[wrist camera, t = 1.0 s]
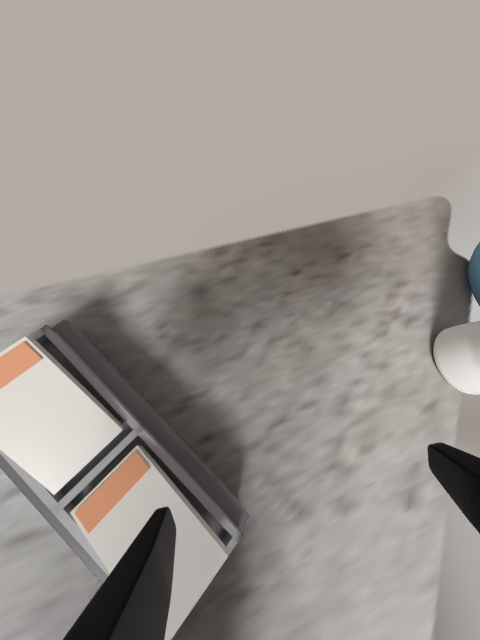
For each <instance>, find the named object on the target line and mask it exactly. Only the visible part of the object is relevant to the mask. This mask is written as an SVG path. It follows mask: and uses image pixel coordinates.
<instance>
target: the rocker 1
mask: <svg viewBox="0 0 480 640" xmlns="http://www.w3.org/2000/svg"><path fill="white" fill-rule="evenodd" d="M122 430H123V424H122V423H121V422H120V421H119V420H118V419H117V418H116V417H115V416H114V415H112V414H111V413H110V412H109V411H108V410H107V409H106V408H105V407H104V406H103V405H102V404H101V403H100V402H99V401H98V400H97V399H96V398H95V397H94V396H93V395H92V394H91V393H90V392H89V391H88V390H87V389H86V388H85V387H84V386H83V385H82V384H80V383H79V382H78V381H77V380H76V379H75V378H74V377H73V376H72V375H71V374H70V373H69V372H68V371H67V370H66V369H65V368H64V367H63V366H62V365H61V364H60V363H59V362H58V361H57V360H56V359H55V358H54V357H53V356H52V355H51V354H50V353H48V352H47V351H46V350H45V349H44V348H43V347H42V346H41V345H40V344H39V343H38V342H37V341H36V340H35V339H34V338H33V337H27V336H25V337H23V338H22V339H20V340H19V341H17V342H16V343H14V344H13V345H11V346H10V347H8V348H7V349H5V350H4V351H2V352H1V353H0V450H1V451H2V452H4V453H5V454H6V455H7V456H8V457H10V458H11V459H12V460H13V461H14V462H16V463H17V464H18V465H19V466H20V467H21V468H23V469H24V470H25V471H26V472H27V473H29V474H30V475H31V476H32V477H33V478H35V479H36V480H37V481H38V482H39V483H40V484H42V485H43V486H44V487H45V488H46V489H48V490H49V491H50V492H51V493H52V494H54V495H55V494H56V493H57V492H58V491H59V490H60V489H61V488H62V487H63V486H64V485H65V484H66V483H67V482H69V481H70V480H71V479H72V478H73V477H74V476H75V475H76V474H77V473H78V472H79V471H80V470H81V469H82V468H83V467H84V466H85V465H86V464H88V463H89V462H90V461H91V460H92V459H93V458H94V457H95V456H96V455H97V454H98V453H99V452H100V451H101V450H102V449H103V448H104V447H105V446H107V445H108V444H109V443H110V442H111V441H112V440H113V439H114V438H115V437H116V436H117V435H118V434H119V433H120V432H121V431H122Z"/></svg>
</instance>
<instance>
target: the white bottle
mask: <svg viewBox="0 0 480 640" xmlns="http://www.w3.org/2000/svg"><path fill="white" fill-rule="evenodd" d="M433 354H434V360H435V363H436V366H437V368H438V370H439V372H440V373H441V375H442V376H443V377H444V379H445V380H446V381H447V382H448V383H449V384H450V385H452V386H453V387H454V388H456V389H457V390H459V391H461V392H464V393H467V394H480V321H478V322H471V323H465V324H461V325H457V326H453V327H450V328H447V329H444V330H443V331H441V332H440V333H439V334H438V336H437V337H436V339H435V342H434V347H433Z"/></svg>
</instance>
